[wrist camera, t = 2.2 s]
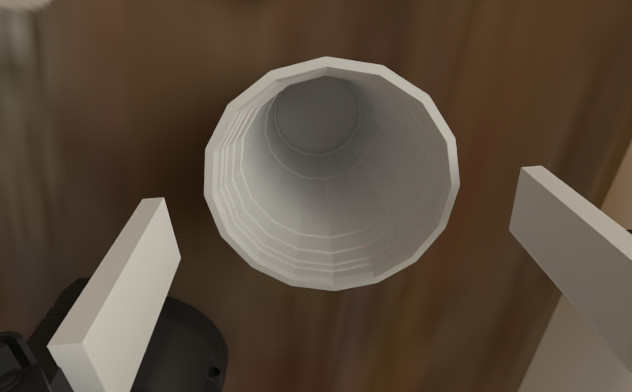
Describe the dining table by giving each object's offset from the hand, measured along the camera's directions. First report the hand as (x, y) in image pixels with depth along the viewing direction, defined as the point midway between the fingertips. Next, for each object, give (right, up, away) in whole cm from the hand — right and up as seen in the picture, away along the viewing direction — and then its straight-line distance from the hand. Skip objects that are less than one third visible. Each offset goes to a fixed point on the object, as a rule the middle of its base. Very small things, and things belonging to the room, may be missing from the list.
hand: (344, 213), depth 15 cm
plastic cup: (-1, +7, +12) cm, 14 cm away
